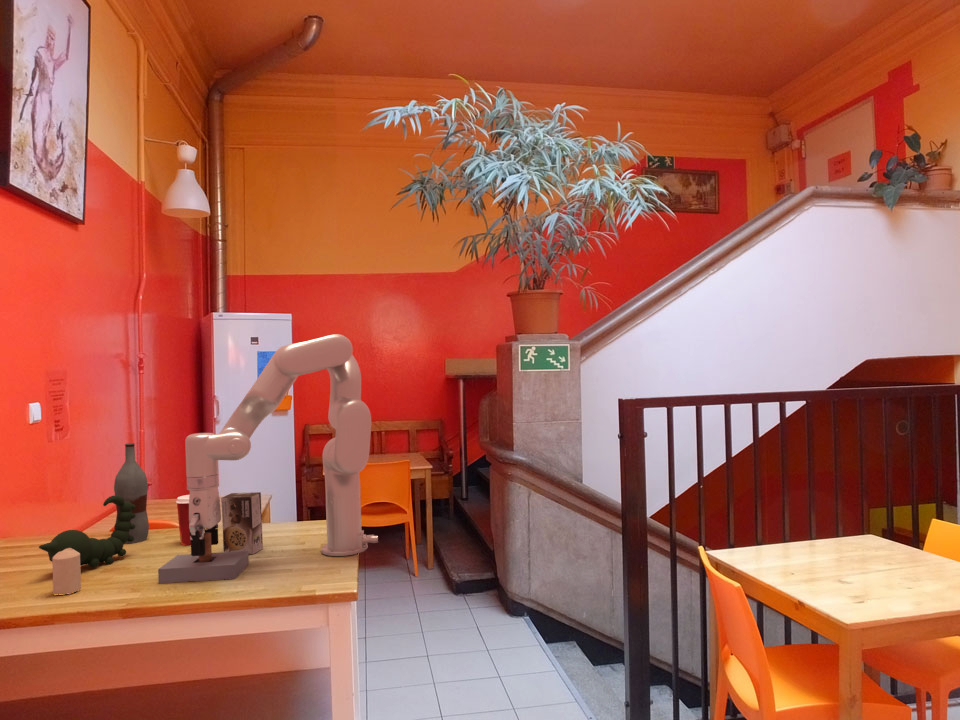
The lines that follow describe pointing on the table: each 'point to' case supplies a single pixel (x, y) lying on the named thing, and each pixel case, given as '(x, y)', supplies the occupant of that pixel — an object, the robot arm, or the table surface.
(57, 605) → the table surface
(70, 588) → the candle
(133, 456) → the bottle
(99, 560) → the toy figurine
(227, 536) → the coffee box
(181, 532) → the paper cup
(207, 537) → the walnut peg
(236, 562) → the hole block
